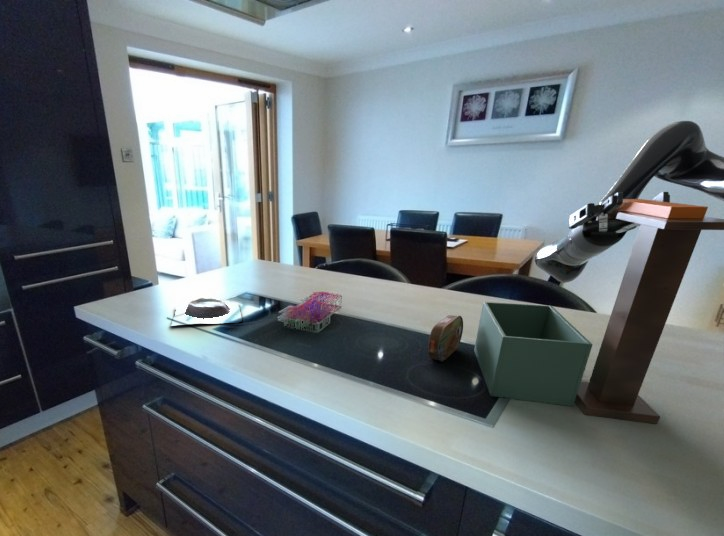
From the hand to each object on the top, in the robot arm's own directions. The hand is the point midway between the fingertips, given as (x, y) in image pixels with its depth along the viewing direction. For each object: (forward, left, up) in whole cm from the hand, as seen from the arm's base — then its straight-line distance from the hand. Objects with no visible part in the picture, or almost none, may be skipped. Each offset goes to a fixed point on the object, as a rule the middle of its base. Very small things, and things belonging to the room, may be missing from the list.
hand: (642, 197), depth 65 cm
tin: (+26, -5, -34) cm, 43 cm away
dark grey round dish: (+93, -17, -34) cm, 101 cm away
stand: (0, +10, -34) cm, 36 cm away
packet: (0, +4, -2) cm, 4 cm away
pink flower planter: (+61, -25, -34) cm, 74 cm away
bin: (+12, +2, -34) cm, 36 cm away
